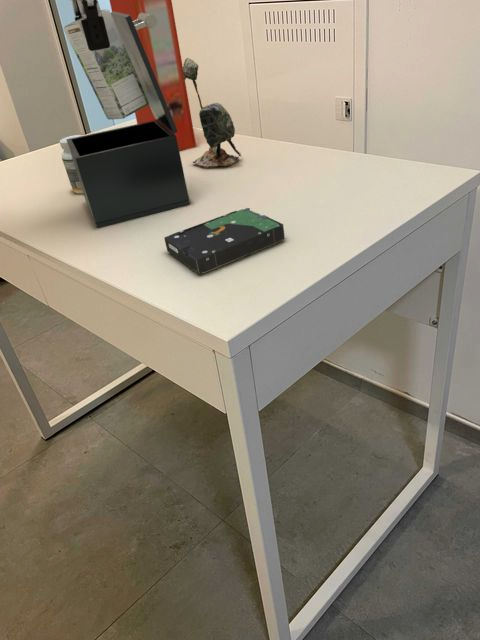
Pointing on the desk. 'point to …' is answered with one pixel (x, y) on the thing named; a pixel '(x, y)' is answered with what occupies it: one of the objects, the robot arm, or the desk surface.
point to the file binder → (163, 63)
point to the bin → (129, 172)
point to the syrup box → (109, 70)
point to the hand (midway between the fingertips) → (95, 45)
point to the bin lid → (143, 63)
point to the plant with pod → (212, 126)
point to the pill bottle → (70, 165)
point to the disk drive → (224, 239)
